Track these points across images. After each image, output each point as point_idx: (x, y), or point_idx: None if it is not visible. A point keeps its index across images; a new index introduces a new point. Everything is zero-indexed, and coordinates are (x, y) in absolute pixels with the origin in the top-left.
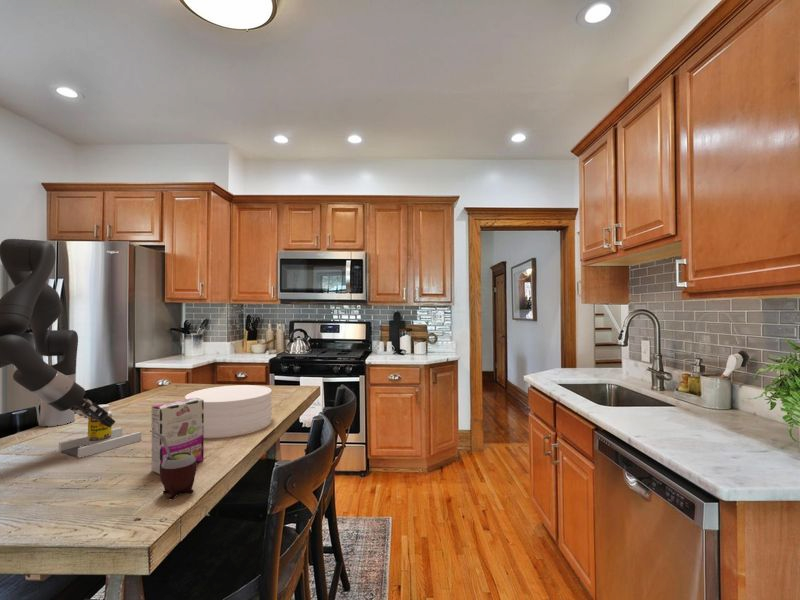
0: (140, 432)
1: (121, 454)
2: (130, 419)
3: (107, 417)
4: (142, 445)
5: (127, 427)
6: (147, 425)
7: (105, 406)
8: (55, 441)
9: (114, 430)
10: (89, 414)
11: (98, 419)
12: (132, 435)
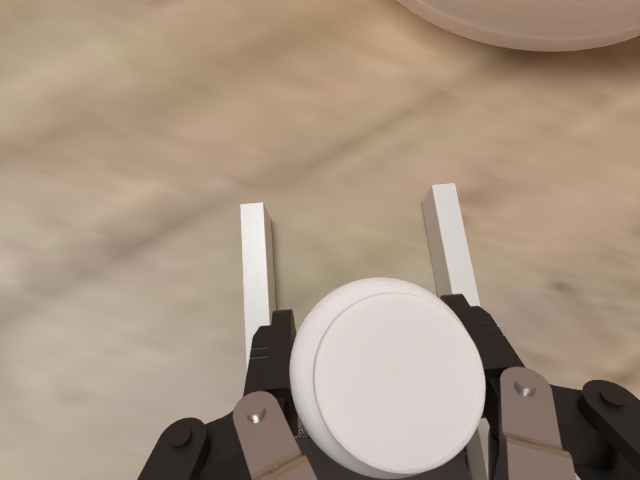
0: (454, 187)
1: (609, 354)
2: (8, 77)
3: (519, 363)
4: (534, 232)
5: (141, 143)
6: (200, 79)
7: (477, 355)
8: (38, 463)
9: (265, 244)
10: (364, 471)
11: (577, 464)
12: (461, 231)
